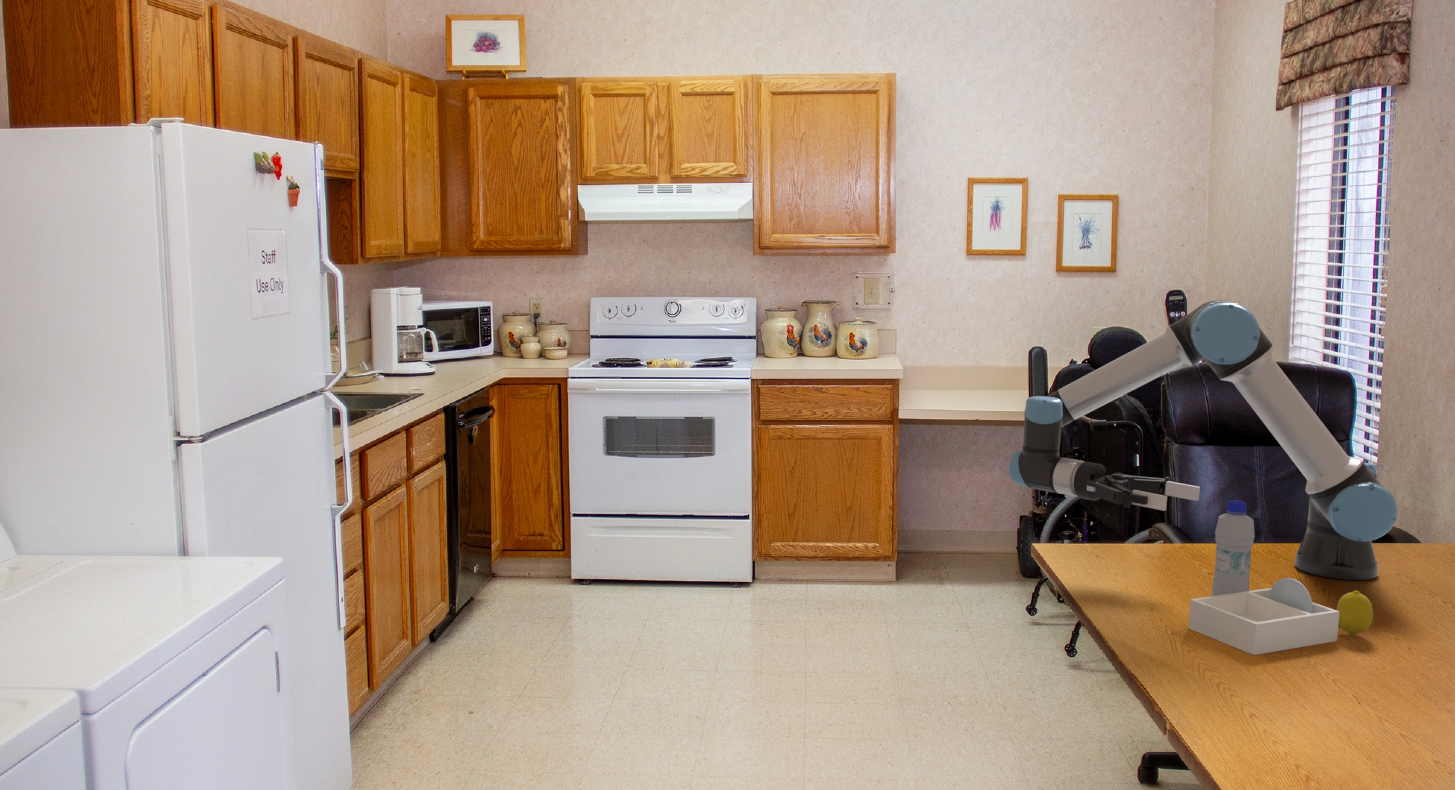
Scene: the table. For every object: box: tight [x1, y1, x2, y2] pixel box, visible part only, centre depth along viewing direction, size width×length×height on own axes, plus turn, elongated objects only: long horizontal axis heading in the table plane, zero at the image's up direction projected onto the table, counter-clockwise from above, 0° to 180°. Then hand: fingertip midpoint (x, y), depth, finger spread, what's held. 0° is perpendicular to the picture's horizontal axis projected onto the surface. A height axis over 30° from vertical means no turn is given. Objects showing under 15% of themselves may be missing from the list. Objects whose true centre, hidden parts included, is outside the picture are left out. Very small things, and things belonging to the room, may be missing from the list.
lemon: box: [1335, 590, 1374, 637], centre depth 192 cm, size 6×6×8 cm
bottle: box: [1211, 499, 1256, 596], centre depth 207 cm, size 7×7×20 cm
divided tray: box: [1188, 577, 1340, 656], centre depth 192 cm, size 19×14×9 cm
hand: (1182, 498), depth 213 cm, fingers open, 13 cm apart
